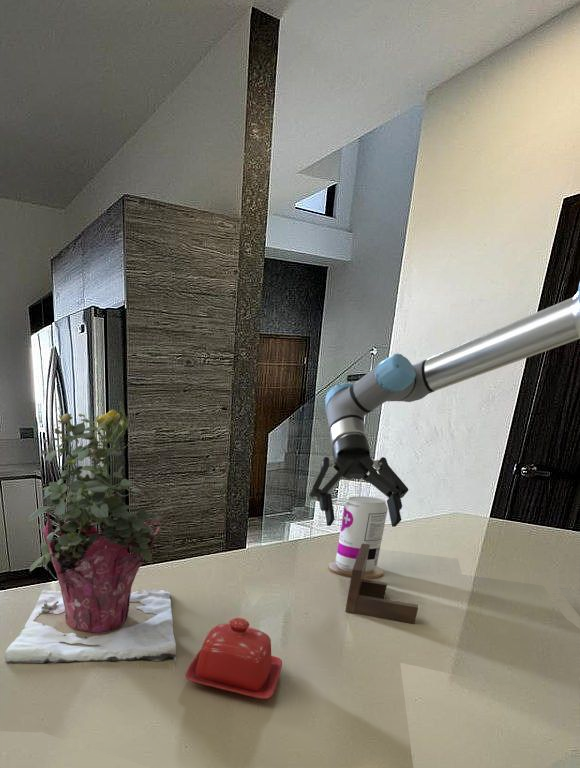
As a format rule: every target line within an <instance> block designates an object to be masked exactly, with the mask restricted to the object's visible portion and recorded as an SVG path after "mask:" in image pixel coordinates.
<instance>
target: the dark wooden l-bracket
mask: <svg viewBox="0 0 580 768" xmlns="http://www.w3.org/2000/svg"><path fill="white" fill-rule="evenodd" d="M369 548H370V545H369V544H362V545H361V548H360V550H359V553H358V556H357V559H356V561H355V564H354V567H353V570H352V576H351V577H350V582H349V587H348V592H347V593H348V594H347V599H346V605H345V611H344V612H345V613H348V614H349V613H351V614H358V615H363V616H370V617H374V618H375V617H376V618H379V619H385V620H391V621H395V622H402V623H407V624H412V625H414V624H415V623H416V619H417V615H418V610H419V604H417V603H410V602H404V601H398V600H394V599H393V600H392V599H388V598H387V599H386V598H385V596H386V593H387V587H388V582H385V581H378V580H372V579H364V575H365V569H366V564H367V558H368V553H369Z"/></svg>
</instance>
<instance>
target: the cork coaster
mask: <svg viewBox="0 0 580 768" xmlns="http://www.w3.org/2000/svg"><path fill="white" fill-rule="evenodd" d="M327 569H328V570H329V571H330V572H332V573H334V574H336V575H339V576H342V577H346V578H351V576H352V572H351V571H346V570H343V569H341V568H340V567H338V565H337V564H336V560H333V561H331V562H329V563H328V566H327ZM383 574H384V570H383V568H381V567H380V566H378V565H377V567H376V568H375V569H373V570H372V571H371V572H365V575H364V579H366V580H372V579H377V578H380V577H381V576H382V577H383Z"/></svg>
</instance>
